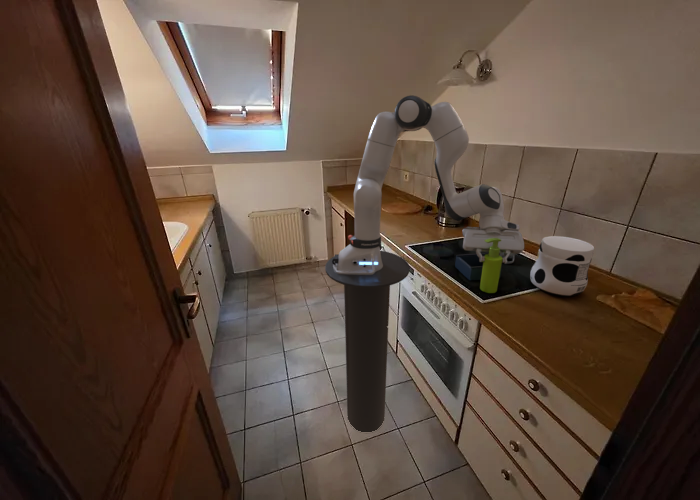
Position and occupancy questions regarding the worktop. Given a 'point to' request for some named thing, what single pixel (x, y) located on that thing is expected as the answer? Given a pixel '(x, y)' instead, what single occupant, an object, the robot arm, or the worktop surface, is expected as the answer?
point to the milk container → (562, 265)
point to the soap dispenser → (491, 267)
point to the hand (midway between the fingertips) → (493, 262)
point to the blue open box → (465, 264)
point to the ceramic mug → (511, 256)
